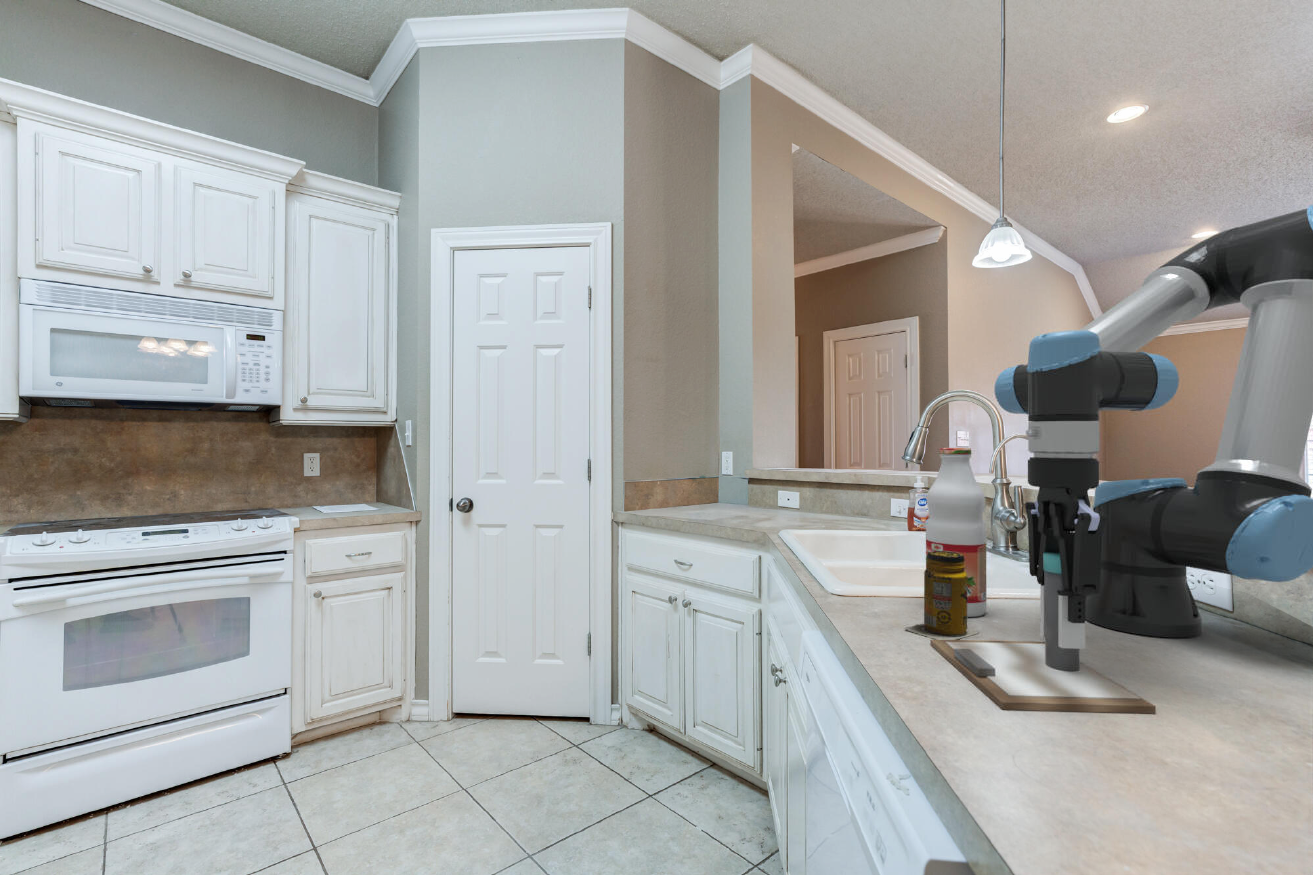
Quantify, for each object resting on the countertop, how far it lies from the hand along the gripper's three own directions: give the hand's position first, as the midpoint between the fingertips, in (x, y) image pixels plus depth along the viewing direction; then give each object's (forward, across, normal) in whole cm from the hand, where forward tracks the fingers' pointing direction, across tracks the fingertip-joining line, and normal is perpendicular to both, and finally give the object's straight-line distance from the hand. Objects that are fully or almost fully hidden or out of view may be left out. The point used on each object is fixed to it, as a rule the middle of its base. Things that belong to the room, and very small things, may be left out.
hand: (1062, 641), depth 78 cm
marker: (+3, 0, 0) cm, 3 cm away
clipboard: (+4, 0, -4) cm, 6 cm away
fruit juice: (+4, -29, -2) cm, 29 cm away
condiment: (+4, -17, -8) cm, 19 cm away
